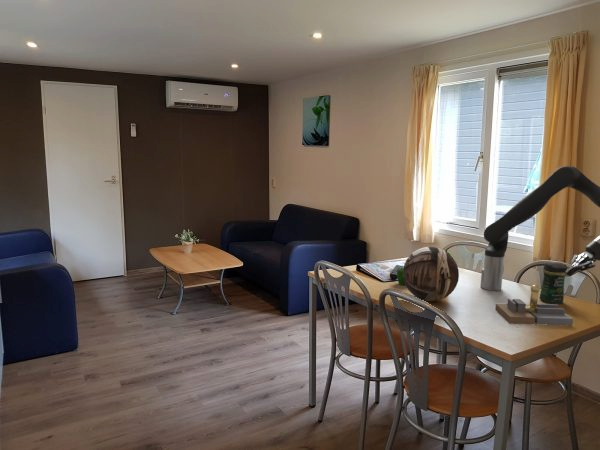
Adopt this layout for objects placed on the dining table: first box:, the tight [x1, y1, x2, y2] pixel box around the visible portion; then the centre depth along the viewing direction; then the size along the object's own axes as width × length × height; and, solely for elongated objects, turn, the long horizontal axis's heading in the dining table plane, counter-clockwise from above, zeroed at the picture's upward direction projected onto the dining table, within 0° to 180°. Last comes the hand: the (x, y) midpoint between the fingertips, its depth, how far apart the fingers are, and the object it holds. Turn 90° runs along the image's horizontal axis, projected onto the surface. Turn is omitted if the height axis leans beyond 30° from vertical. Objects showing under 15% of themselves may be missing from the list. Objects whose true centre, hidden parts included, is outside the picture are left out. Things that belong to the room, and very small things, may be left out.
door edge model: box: [494, 298, 574, 326], centre depth 197 cm, size 25×16×7 cm, turn 87°
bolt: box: [516, 284, 541, 312], centre depth 196 cm, size 9×3×11 cm, turn 87°
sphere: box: [402, 246, 460, 302], centre depth 216 cm, size 25×25×25 cm
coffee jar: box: [539, 262, 568, 304], centre depth 217 cm, size 10×8×19 cm
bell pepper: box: [396, 267, 406, 286], centre depth 242 cm, size 8×8×10 cm
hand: (567, 274), depth 193 cm, fingers closed
